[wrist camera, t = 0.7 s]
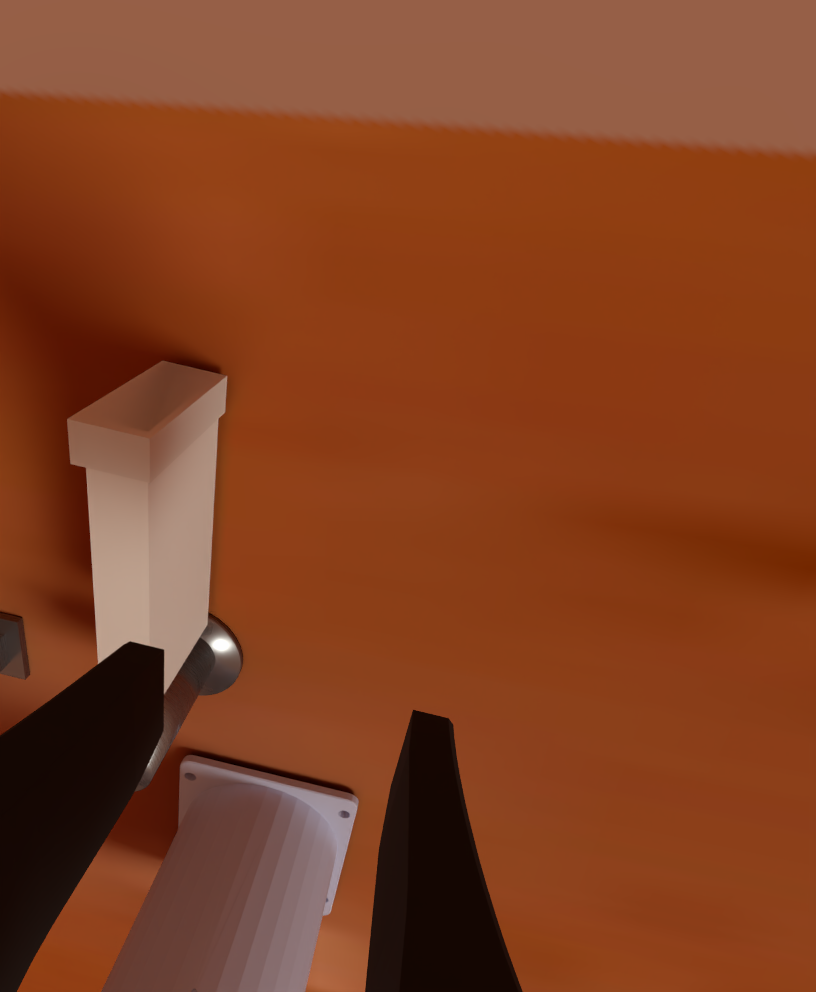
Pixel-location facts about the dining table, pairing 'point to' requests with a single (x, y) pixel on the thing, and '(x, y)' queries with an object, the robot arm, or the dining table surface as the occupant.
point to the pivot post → (196, 684)
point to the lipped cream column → (151, 507)
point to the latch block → (13, 647)
